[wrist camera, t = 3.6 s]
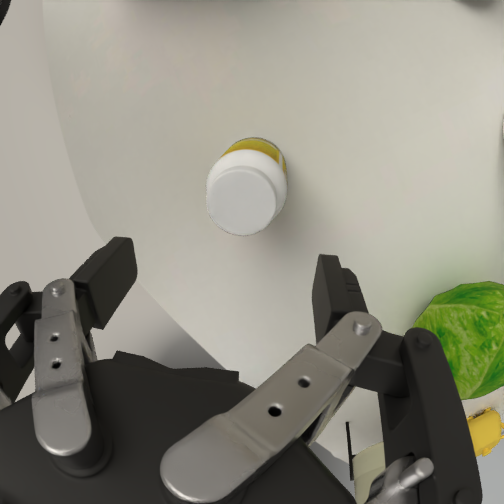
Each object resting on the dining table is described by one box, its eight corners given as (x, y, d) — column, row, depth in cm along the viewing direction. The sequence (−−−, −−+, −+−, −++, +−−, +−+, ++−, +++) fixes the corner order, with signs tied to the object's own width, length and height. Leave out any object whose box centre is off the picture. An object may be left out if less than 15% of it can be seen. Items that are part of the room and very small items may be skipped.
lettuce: (372, 360, 41) (434, 433, 32) (412, 315, 24) (507, 431, 15) (439, 294, 43) (495, 358, 34) (490, 223, 27) (568, 313, 18)
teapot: (445, 424, 52) (456, 463, 42) (507, 394, 47) (522, 429, 36) (440, 441, 58) (447, 476, 47) (496, 415, 53) (507, 447, 42)
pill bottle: (211, 158, 29) (176, 191, 19) (263, 124, 27) (252, 138, 17) (246, 206, 31) (230, 260, 21) (297, 176, 29) (305, 218, 19)
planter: (344, 405, 47) (352, 519, 27) (424, 386, 44) (451, 492, 24) (346, 436, 54) (352, 527, 34) (413, 421, 51) (430, 508, 31)
